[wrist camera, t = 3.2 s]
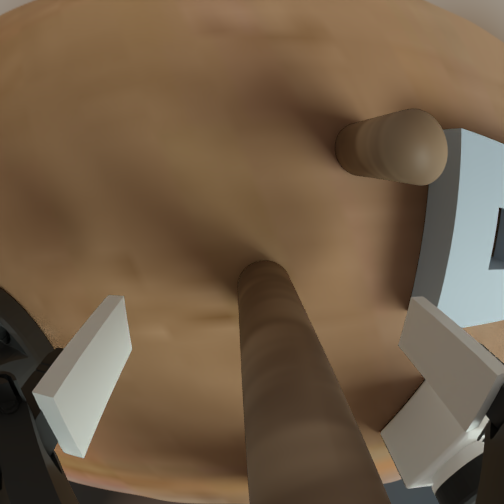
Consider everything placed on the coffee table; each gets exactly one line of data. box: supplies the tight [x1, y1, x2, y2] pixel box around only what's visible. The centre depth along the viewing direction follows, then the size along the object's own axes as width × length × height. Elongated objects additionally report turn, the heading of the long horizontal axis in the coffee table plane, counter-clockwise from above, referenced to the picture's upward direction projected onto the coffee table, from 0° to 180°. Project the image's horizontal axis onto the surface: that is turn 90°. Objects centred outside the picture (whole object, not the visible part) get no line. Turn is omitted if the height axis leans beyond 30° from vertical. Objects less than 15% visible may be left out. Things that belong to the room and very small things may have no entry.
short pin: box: [335, 109, 448, 185], centre depth 13 cm, size 3×3×6 cm
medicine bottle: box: [381, 380, 489, 504], centre depth 16 cm, size 7×7×12 cm
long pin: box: [238, 261, 391, 504], centre depth 11 cm, size 3×3×14 cm
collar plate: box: [411, 128, 504, 328], centre depth 16 cm, size 12×12×3 cm
